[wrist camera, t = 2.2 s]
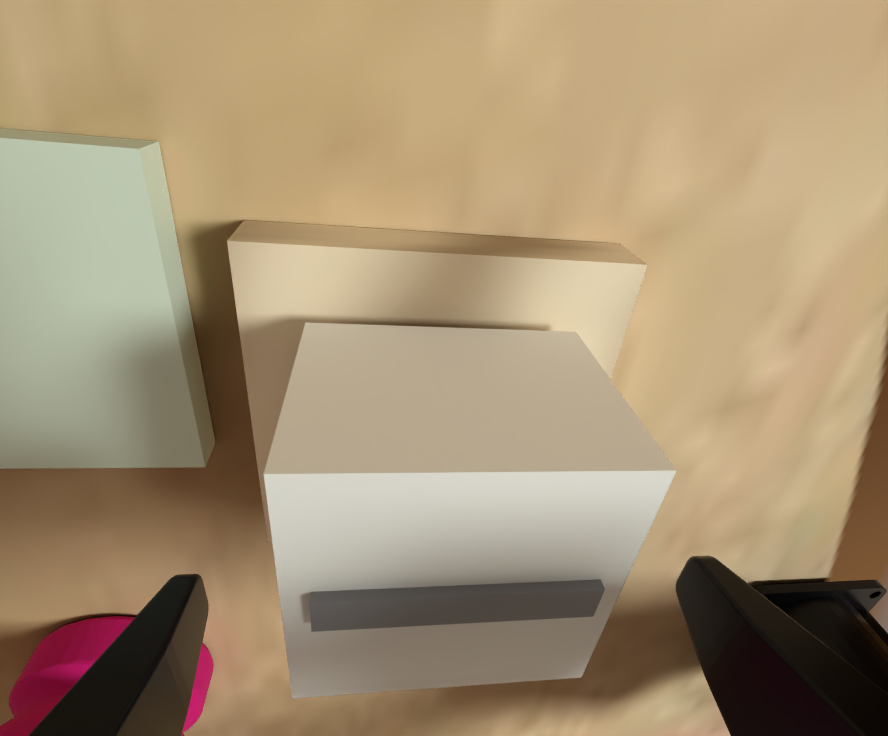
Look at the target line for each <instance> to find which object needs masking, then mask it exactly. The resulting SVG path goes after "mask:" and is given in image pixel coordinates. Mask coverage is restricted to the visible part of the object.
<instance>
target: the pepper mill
mask: <svg viewBox="0 0 888 736" xmlns="http://www.w3.org/2000/svg"><path fill="white" fill-rule="evenodd" d="M134 618H135V617H124V616H111V617H102V618H93V619H86V620H83V621H79V622H75V623H71V624H68V625H65V626H63V627H61V628H59V629H57V630H55V631H54V632H52V633H51V634H49V635H48V636H46V637H45V638H44V639H43V640H42V641H41V642H40V643H39V644H38V646H37V647H36V649H35V651H34V652H33V654H32V656H31V658H30V659H29V661H28V663H27V665H26V666H25V668H24V670H23V672H22V673H21V675H20V677H19V679H18V680H17V682H16V684H15V686H14V687H13V689H12V691H11V694H10V697H9V706H10V708H11V711H12V714H13V715H14V718H13V719H11V720H9V721H8V722H6V723H5V724H3V725H1V726H0V736H28V735H29V734H30V733H31V732H32V731H33V730H34V728H35V727H36V726H37V725H38V724H39V723H40V722H41V721H42V720H43V719H44V717H45V716H46V715H47V714H48V713H49V712H50V711H51V710H52V709H53V708H54V706H55V705H56V704H57V703H58V702H59V701H60V700H61V699H62V698H63V696H64V695H65V694H66V693H67V692H68V691H69V690H70V689H71V688H72V687H73V685H74V684H75V683H76V682H77V681H78V680H79V679H80V678H81V677H82V676H83V674H84V673H85V672H86V671H87V670H88V669H89V668H90V667H91V666H92V665H93V663H94V662H95V661H96V660H97V659H98V658H99V657H100V656H101V655H102V654H103V652H104V651H105V650H106V649H107V648H108V647H109V646H110V645H111V644H112V642H113V641H114V640H115V639H116V638H117V637H118V636H119V635H120V634H121V633H122V631H123V630H124V629H125V628H126V627H127V626H128V625H129V624H130V623H131V622H132V620H133V619H134ZM212 673H213V660H212V657H211V655H210V652H209V650H208V648H207V647H206V646H205V645H204V644H203V643H202V646H201V651H200V656H199V661H198V666H197V671H196V676H195V680H194V685H193V690H192V695H191V700H190V704H189V709H188V713H187V717H186V720H185V724H184V727H183V731H182V734H181V736H184V734H183V732H185V731H186V730H188V729H189V728H190V727H191V726H192V725H193V724H194V723H195V722H196V721H197V720H198V719H199V717H200V715H201V713H202V710H203V706H204V703H205V699H206V695H207V691H208V688H209V684H210V680H211V677H212Z"/></svg>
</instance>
